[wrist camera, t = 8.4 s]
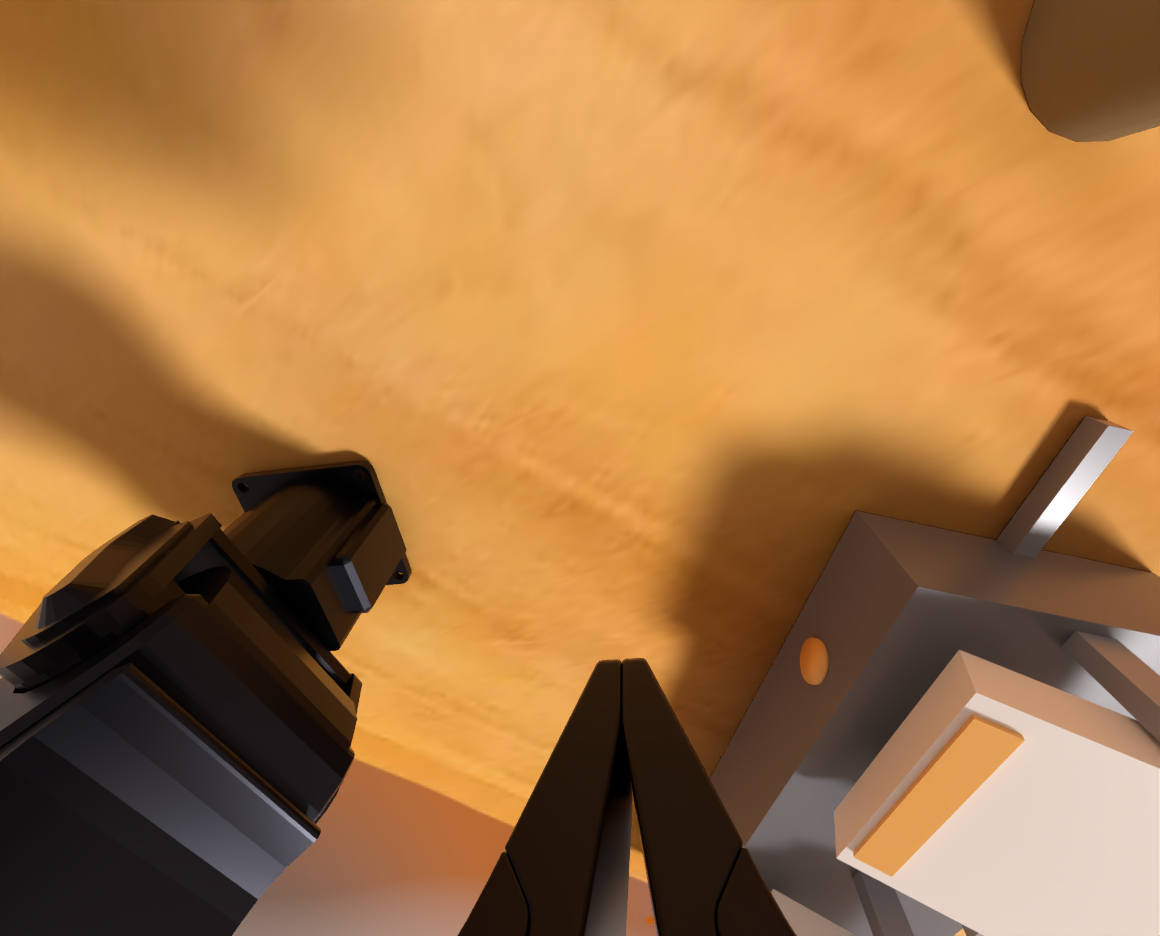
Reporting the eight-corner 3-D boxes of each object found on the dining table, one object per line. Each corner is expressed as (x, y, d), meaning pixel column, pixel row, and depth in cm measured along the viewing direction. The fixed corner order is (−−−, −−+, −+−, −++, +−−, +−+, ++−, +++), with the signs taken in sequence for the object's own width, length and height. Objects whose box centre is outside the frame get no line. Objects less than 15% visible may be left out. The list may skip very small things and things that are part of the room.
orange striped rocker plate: (833, 811, 22) (836, 863, 20) (958, 649, 17) (978, 697, 15) (1164, 977, 19) (1204, 1057, 17) (1422, 834, 14) (1516, 921, 12)
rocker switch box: (661, 861, 36) (677, 1064, 27) (922, 379, 19) (1166, 511, 11) (853, 894, 36) (926, 1102, 28) (1263, 455, 20) (1745, 636, 11)
